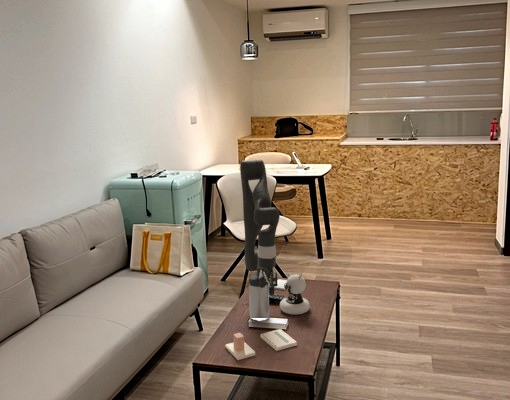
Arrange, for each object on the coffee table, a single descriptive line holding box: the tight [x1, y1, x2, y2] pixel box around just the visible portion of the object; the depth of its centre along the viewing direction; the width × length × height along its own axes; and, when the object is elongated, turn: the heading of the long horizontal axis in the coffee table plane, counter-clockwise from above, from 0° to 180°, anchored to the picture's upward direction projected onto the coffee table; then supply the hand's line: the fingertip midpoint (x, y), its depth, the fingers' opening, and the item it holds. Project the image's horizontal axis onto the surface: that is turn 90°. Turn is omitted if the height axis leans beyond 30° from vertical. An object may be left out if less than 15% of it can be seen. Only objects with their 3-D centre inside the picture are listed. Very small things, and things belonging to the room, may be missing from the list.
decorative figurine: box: [279, 271, 311, 316], centre depth 258 cm, size 15×15×20 cm
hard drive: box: [274, 278, 287, 291], centre depth 292 cm, size 2×8×12 cm
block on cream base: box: [225, 332, 256, 361], centre depth 220 cm, size 12×8×7 cm, turn 27°
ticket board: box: [259, 328, 298, 352], centre depth 229 cm, size 14×10×2 cm
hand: (267, 291), depth 224 cm, fingers open, 8 cm apart
